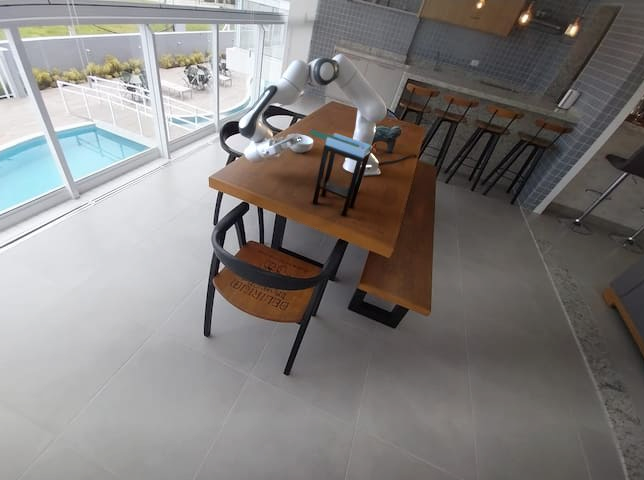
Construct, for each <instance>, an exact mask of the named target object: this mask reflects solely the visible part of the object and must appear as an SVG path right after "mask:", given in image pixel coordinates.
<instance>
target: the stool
mask: <svg viewBox="0 0 644 480" xmlns="http://www.w3.org/2000/svg"><path fill="white" fill-rule="evenodd" d="M370 153H371V152H370ZM370 153H368V154H367V155H366V156H365V157H364V158H362V157H359V156H356V155H354V154H351V153H348V152H345V151H342V150H339V149H336V148H333V147H331V146H328V145H326V144H325V145H324V146H323V149H322V154H321V159H320V164H319V169H318V174H317V179H316V183H315V187H314V188H315V189H314V193H313V200H312V204H314V205H317V204H318V203H319V198H320V197H323V198H325V197H326V196H327V192H328V193H331V194H333V195H336V196H338V197H340V198H343V199H345V201H344V205H343V208H342V212H341V216H343V217H346V216H347V215H348V211H349V208H350V209H353V208H354V207H355V205H356V201H357V198H358V195H359V193H358V192H360V189H361V186H362V183H361V182H363V180H362V179H364V176H363V175H364V172H365V169H366V166H367V162H368V159H369V156H370ZM336 155H339V156H341V157H344V158H349V159H352V160H355V161H357V162H356V166H355V169H354V173H352V176H351V179H352V180H351V179H350V183H349V186H350V187H349V186H348V188H346V187H345V186H341V185H339V184H336V183H333V182H331V181H330V180H331V174H332V170H333V166H334V162H335V158H336ZM328 156H329V157H328ZM327 160H328V161H327ZM362 161H363V162H362ZM326 164H327V165H326ZM361 164H362V165H361ZM326 166H327V167H326ZM325 169H326V171H325ZM359 171H360V172H359ZM358 174H359V175H358ZM324 175H325V176H324ZM356 181H357V182H356ZM322 183H323V185H322ZM360 185H361V186H360ZM354 188H355V189H354ZM359 188H360V189H359ZM320 193H321V194H320Z"/></svg>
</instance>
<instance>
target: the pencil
mask: <svg viewBox="0 0 644 480" xmlns="http://www.w3.org/2000/svg"><path fill="white" fill-rule="evenodd" d="M309 135H311V136H314V137H316V138H319V139H323V140H325V141H326V140H327V137H329V138H332V139H335V140H338V141H341V142H344V143H347V144H350V145H353V146H356V147H359V148H362V149H364V148H363V147H361V146H359V145H357V144H354V143H351V142H348V141H345V140H342V139H339V138H336V137H334V135H330V134H327V133H324V132H321V131H318V130H315V129H312V130H310V134H309Z"/></svg>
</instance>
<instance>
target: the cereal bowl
mask: <svg viewBox="0 0 644 480" xmlns="http://www.w3.org/2000/svg"><path fill="white" fill-rule="evenodd" d="M293 135H297V137H302V141H299V142H298V143H297V144H295V145H293V146H291V147H289V148H288V149H291V150H292V151H293V152H295V153H299V154H300V153H304V152H308V151H311V149H312V148H313V146H314V139H313V138H312V137H310V136H308V135H304V134H300V133H290V134H287V136H293ZM287 136H286V137H287Z"/></svg>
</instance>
